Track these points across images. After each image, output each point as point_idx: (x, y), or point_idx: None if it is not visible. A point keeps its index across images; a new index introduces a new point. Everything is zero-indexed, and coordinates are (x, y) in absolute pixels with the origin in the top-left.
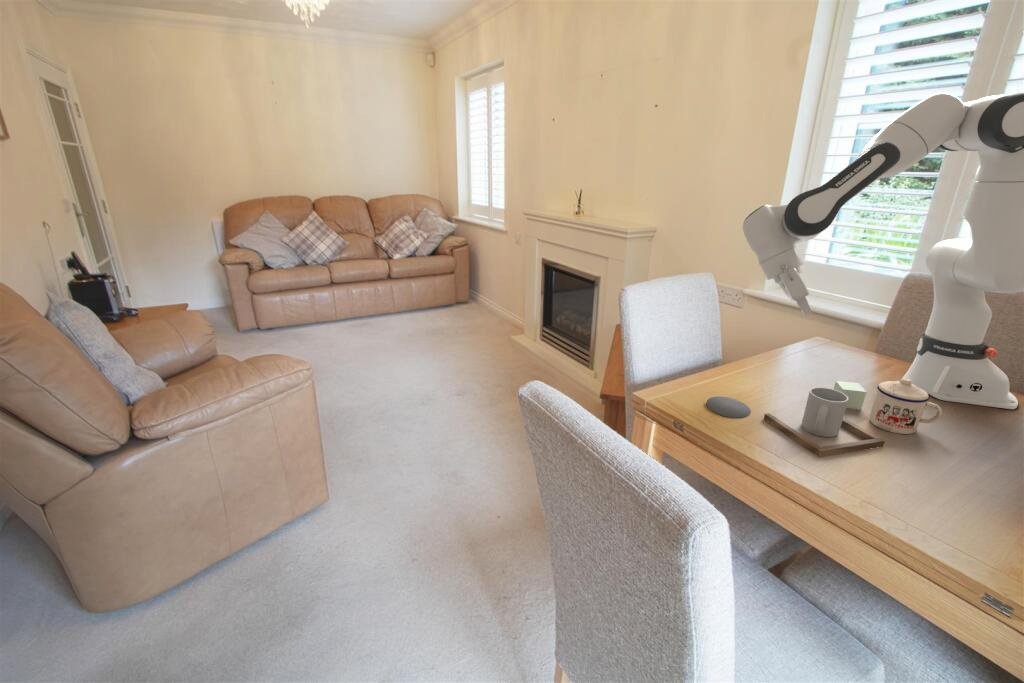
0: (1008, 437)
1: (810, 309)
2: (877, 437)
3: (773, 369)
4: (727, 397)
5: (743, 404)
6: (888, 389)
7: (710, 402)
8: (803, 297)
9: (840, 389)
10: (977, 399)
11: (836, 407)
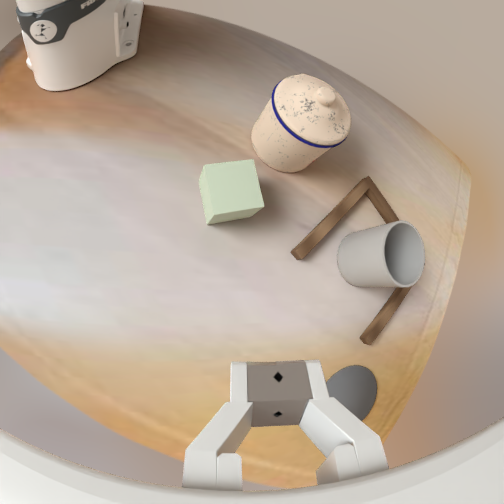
0: (241, 30)
1: (323, 379)
2: (365, 182)
3: (88, 347)
4: None
5: (331, 383)
6: (338, 134)
7: None
8: (382, 470)
9: (250, 210)
10: (132, 21)
11: (414, 242)
